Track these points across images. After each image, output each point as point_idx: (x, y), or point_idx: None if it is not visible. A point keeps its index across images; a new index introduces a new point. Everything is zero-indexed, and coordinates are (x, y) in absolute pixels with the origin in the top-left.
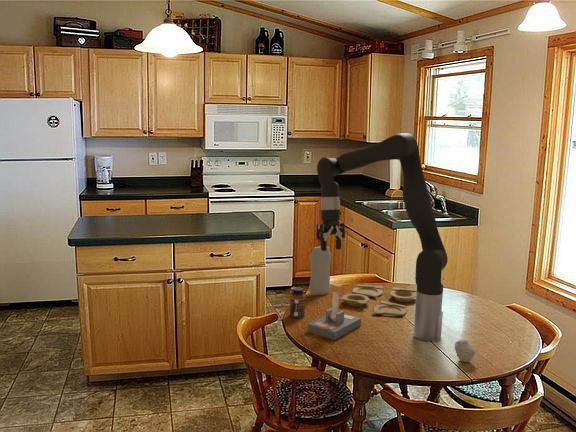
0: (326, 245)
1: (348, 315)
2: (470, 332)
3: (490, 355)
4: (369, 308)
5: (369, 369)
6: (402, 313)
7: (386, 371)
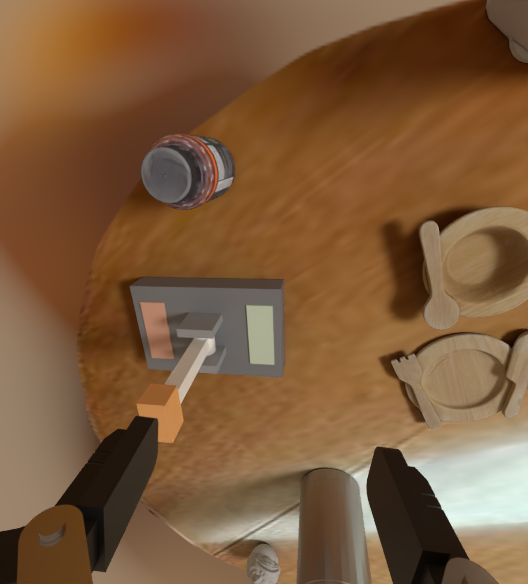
0: (132, 513)
1: (273, 344)
2: None
3: None
4: None
5: None
6: (434, 426)
7: None
